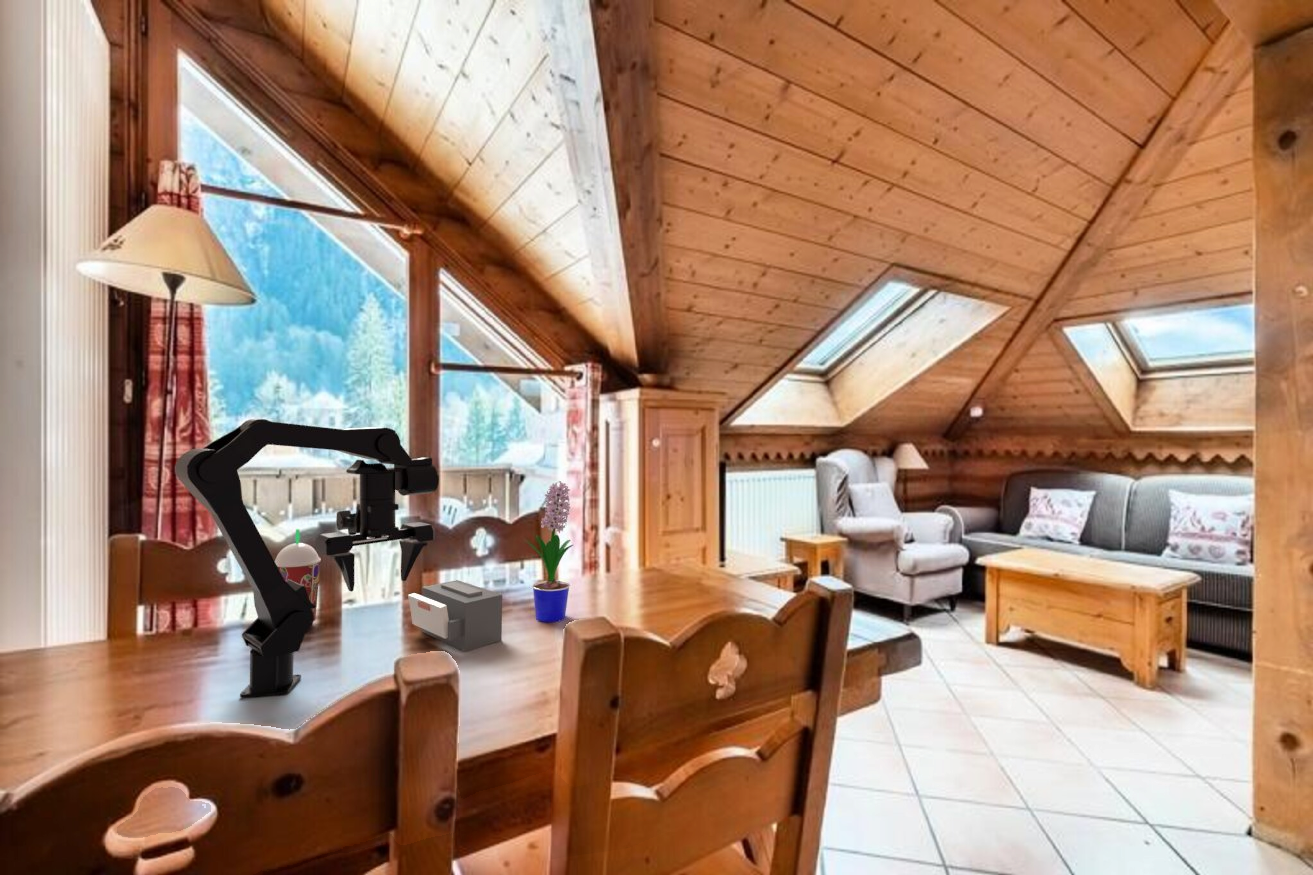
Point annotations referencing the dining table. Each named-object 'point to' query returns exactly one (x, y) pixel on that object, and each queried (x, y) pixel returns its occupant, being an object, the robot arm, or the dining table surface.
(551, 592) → the hyacinth
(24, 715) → the dining table surface
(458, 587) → the box
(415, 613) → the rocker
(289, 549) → the smoothie
